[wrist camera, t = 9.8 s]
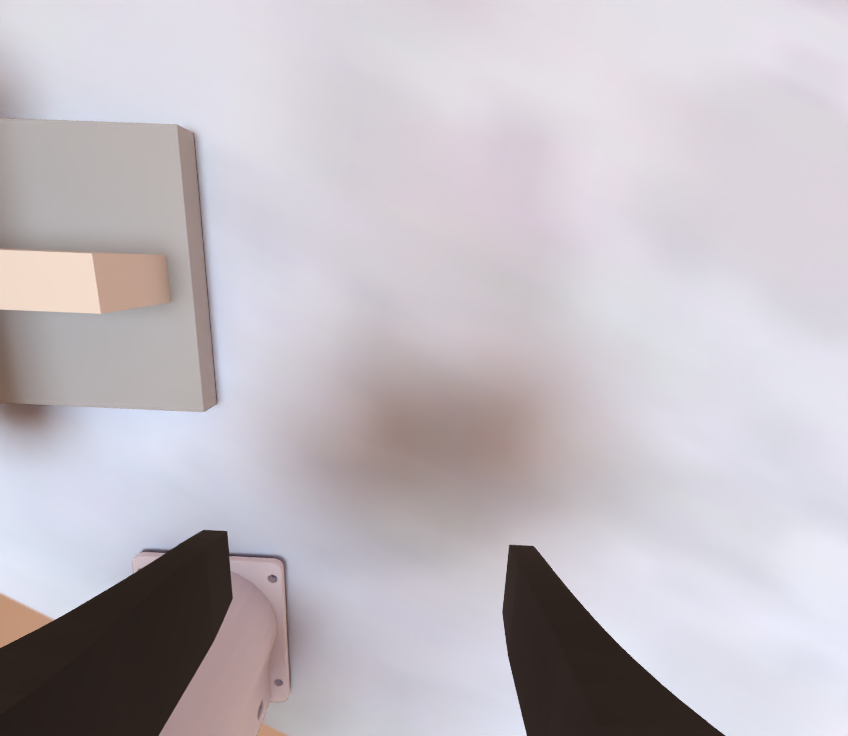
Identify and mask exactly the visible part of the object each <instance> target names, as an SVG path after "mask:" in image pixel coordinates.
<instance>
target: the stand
mask: <svg viewBox="0 0 848 736" xmlns="http://www.w3.org/2000/svg"><path fill="white" fill-rule="evenodd" d="M0 403H13V404H35V405H58V406H80V407H102V408H125V409H147V410H169V411H192V412H205V411H206V410H208V409H209V408H211V407H212V406H214V405H215V404H217V400H216V389H215V377H214V365H213V354H212V342H211V331H210V319H209V307H208V296H207V284H206V272H205V261H204V249H203V238H202V226H201V214H200V203H199V191H198V179H197V168H196V156H195V144H194V133H192V132H190V131H188V130H186V129H184V128H182V127H181V126H179V125H176V124H148V123H121V122H93V121H65V120H37V119H9V118H0Z"/></svg>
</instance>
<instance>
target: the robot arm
mask: <svg viewBox="0 0 848 736" xmlns="http://www.w3.org/2000/svg"><path fill="white" fill-rule="evenodd" d="M132 566H133V573H134V574H132V575H131V576H129V577H127V578H126V579H124V580H123V581H121V582H119V583H118V584H116V585H114V586H113V587H111V588H109V589H108V590H106V591H104V592H102V593H101V594H99V595H97V596H96V597H94V598H92V599H91V600H89V601H87V602H85V603H84V604H82V605H80V606H79V607H77V608H75V609H74V610H72V611H70V612H68V613H67V614H65V615H63V616H61V617H59V618H58V619H56V620H54V621H52V622H50V623H48V624H47V625H45V626H43V627H41V628H39V629H37V630H35V631H34V632H31V633H29V634H27V635H25V636H23V637H21V638H19V639H18V640H16V641H14V642H12V643H10V644H8V645H6V646H4V647H2V648H0V736H257V734H258V732H259V729H260V726H261V724H262V721H263V718H264V716H265V713H266V710H267V707H268V705H269V702H284V701H286V700H287V699H288V696H289V693H290V682H289V662H288V642H287V622H286V602H285V582H284V566H283V563H282V562H281V561H280V560H278V559H275V558H258V557H238V556H229V548H228V536H227V531H212V530H203V531H201V532H199V533H197V534H196V535H194V536H192V537H191V538H189V539H187V540H186V541H184V542H183V543H181V544H179V545H178V546H176V547H175V548H173V549H172V550H170V551H168V552H167V553H156V552H140V553H139V554H137V555H136V556H135V557H134V558H133V560H132ZM271 575H275V576H276V577H277V578H274V577H272V576H271ZM503 620H504V628H505V636H506V644H507V651H508V657H509V662H510V666H511V670H512V674H513V679H514V683H515V687H516V691H517V696H518V700H519V704H520V708H521V712H522V717H523V721H524V725H525V729H526V733H527V736H725V735H724V734H722V733H721V732H720V731H718V730H717V729H716V728H714V727H713V726H712V725H711V724H709V723H708V722H707V721H706V720H704V719H703V718H702V717H701V716H699V715H698V714H697V713H696V712H694V711H693V710H692V709H691V708H689V707H688V706H687V705H686V704H684V703H683V702H682V701H681V700H679V699H678V698H677V697H676V696H675V695H674V694H672V693H671V692H670V691H669V690H668V689H666V688H665V687H664V686H663V685H662V684H661V683H660V682H659V681H657V680H656V679H655V678H654V677H653V676H652V675H651V674H650V673H649V672H647V671H646V670H645V669H644V668H643V667H642V666H641V665H640V664H639V663H638V662H636V661H635V660H634V659H633V658H632V657H631V656H630V655H629V654H628V653H627V652H626V651H625V650H624V649H623V648H622V647H621V646H620V645H619V644H618V643H617V642H616V641H615V640H614V639H613V638H612V637H611V636H610V635H609V634H608V633H607V632H606V631H605V630H604V629H603V628H602V627H601V626H600V624H599V623H598V622H597V621H596V620H595V619H594V618H593V617H592V616H591V615H590V613H589V612H588V611H587V610H586V609H585V608H584V607H583V605H582V604H581V603H580V602H579V601H578V600H577V599H576V597H575V596H574V595H573V594H572V593H571V592H570V590H569V589H568V588H567V587H566V586H565V584H564V583H563V582H562V581H561V579H560V578H559V577H558V576H557V575H556V573H555V572H554V571H553V570H552V568H551V567H550V566H549V564H548V563H547V562H546V561H545V559H544V558H543V557H542V556H541V554H540V553H539V552H538V551H537V550H536V548H535V547H534V546H521V545H509V553H508V563H507V573H506V583H505V593H504V602H503Z"/></svg>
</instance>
